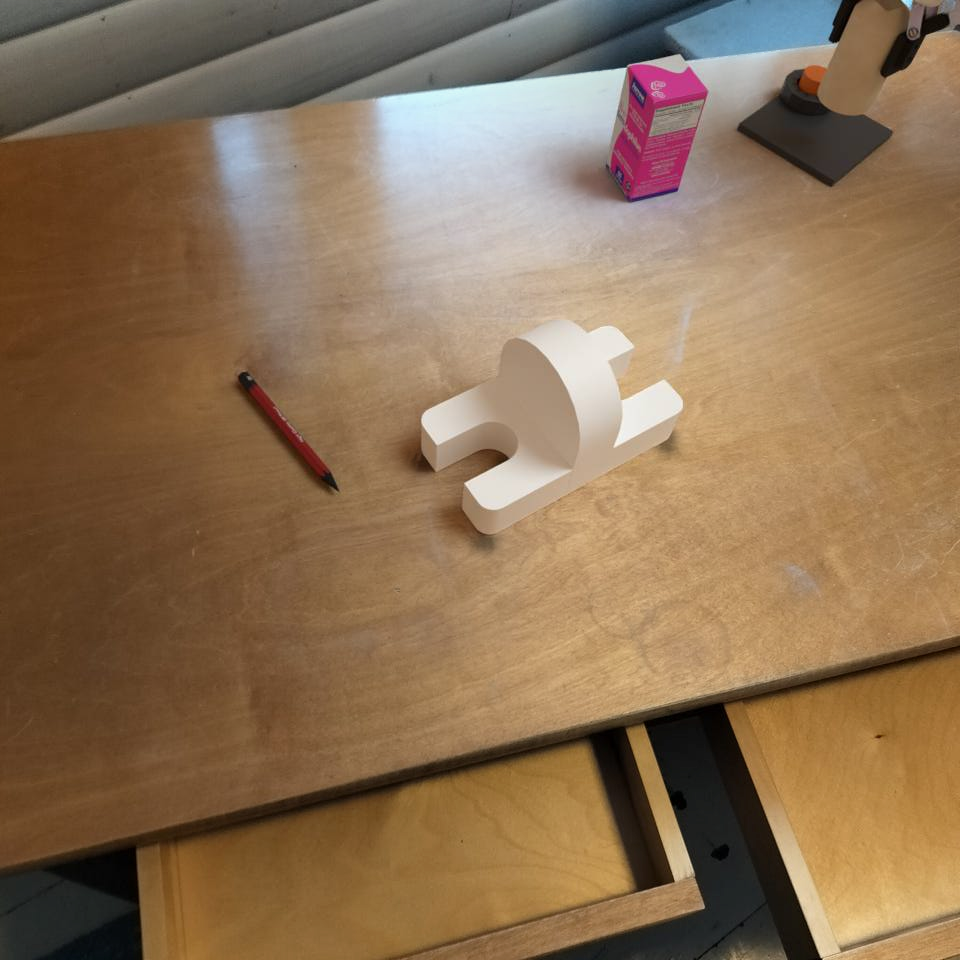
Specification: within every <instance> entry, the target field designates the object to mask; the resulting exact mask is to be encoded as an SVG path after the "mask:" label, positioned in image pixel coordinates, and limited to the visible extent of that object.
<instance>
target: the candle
mask: <svg viewBox="0 0 960 960" xmlns="http://www.w3.org/2000/svg"><path fill="white" fill-rule="evenodd" d="M910 12H911V8H910V7H908V5H907V4H906V3H905V2H904V0H861V1H860V2H858V3H857V4H856V5H855V7H854V9H853V12H852V14H851V16H850V18H849V20H848V23H847V25H846V27H845V29H844V32H843V34H842V36H841V38H840V41H839V42H837V45H836V48H835V50H834V51H833V54H832V57H831V59H830V61H829V63H828V65H827V66H826V67H827V68H826V69H827V70H826V72H825V74H824V76H823V79H822V81H821V83H820V86H819V88H818V98H819V100H820V101H821V103H822V104H823V105H824V106H826V107H827V108H828V109H830V110H832V111H834V112H836V113H839V114H843V115H850V116H855V115H861V114H864V115H865V114H866V113H867V112H869V111H870V109H871V108H872V107H873V105H874V103H875V101H876V100H877V97H878V96H879V93H880V92H881V90H882V88H883V86H884V84H885V82H886V80H887V78H884V77H883V76H881V75H880V74H881V73H880V70H881V68H882V66H883V64H884V62H885V60H886V58H887V56H888V54H889V52H890V50H891V48H892V46H893V44H894V42H895V40H896V39H897V37H898V36H899V35H900V34H901V33H903V32H905V31H906V30H907V28H908V22H909V17H910Z"/></svg>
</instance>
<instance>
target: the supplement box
mask: <svg viewBox="0 0 960 960" xmlns="http://www.w3.org/2000/svg"><path fill="white" fill-rule="evenodd" d="M620 92H621V93H620V97H619V102H618V106H617V111H616V115H615V121H614V123H613V128H612V129H613V130H612V134H611V139H610V143H609V146H608V147H609V148H608V152H607V158H606V163H605V167H606V169H607V170H608V171H609V173H610V174H611V175H612V177H613V179H614V180H615V182H616V183H617V184H618V186H619V187H620V190H622V191H621V192H623V195H624V196H625V198H626V199H627V201H628V202H630V203H631V202H635V201H640V200H644V199H649V198H654V197H658V196H662V195H666V194H672V193H677V192H678V191H679V189H680V185H681V183H682V179H683V177H684V176H683V175H684V172H685V169H686V165H687V162H688V158H689V156H690V153H691V150H692V146H693V144H694V139H695V136H696V134H697V130H698V126H699V124H700V119H701V118H702V114H703V110H704V108H705V104H706V100H707V99H708V94H709V89H708V88H707V86H705V84H704V83H703V82H702V81H701V79H700V78H699V76H698V75H697V74H696V73H695V71H694V70H693V69H692V67H691V66H690V65H689V64H688V62H687V61H686V60H685V59H684V57H683V56H682V55H681V54H680V53H678V54H673V55H670V56H669V55H668V56H665V57H661V58H655V59H652V60H651V59H650V60H646V61H640V62H635V63H629V64H628V65H626V69H625V74H624V79H623V83H622V88H621V91H620Z"/></svg>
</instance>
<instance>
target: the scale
mask: <svg viewBox="0 0 960 960" xmlns="http://www.w3.org/2000/svg"><path fill="white" fill-rule="evenodd" d="M804 70H805V68H800V69H799V68H798V69H794V70H793V71H791V72H789V74H787V75H786V76H785V79H784V82H783V84H782V86H781V89H780V90H781V91H780V94H778V95H777V96H775V97H774V98H773V99H771V100H769V102H767V103H766V104H764V105H762V106H761V107H760V108H759V109H757V110H756V111H755V112H753V113H751V115H749V116H747V117H746V118H744V119H742V121H741V122H739V123H738V126H737V129H736V131H738V132H740V133H741V134H743V136H746V137H748V138H749V139H751V140H752V141H754V142H756V143H758V144H759V145H761V146H762V147H764V148H766V149H768V150H769V151H771V152H772V153H774V154H775V155H777V156H779V157H781V158H782V159H783V160H786V161H787V162H789V163H791V164H792V165H794V166H796V167H797V168H799V169H800V170H801V171H804V172H805V173H807V174H808V175H810V176H812V177H813V178H815V179H817V180H819V181H820V182H822V183H824V184H825V185H826V186H828V187H830V188H832V187H834V186H835V185H836V184H837V183H838V182H839V181H840V180H842V179H843V178H844V177H845V176H847V175H848V174H849V173H850V172H852V170H854V169H855V168H856V167H858V166H859V165H860V164H861V163H862V162H863V161H864V160H866V159H867V158H868V157H870V155H872V154H873V153H874V152H876V151H877V150H878V149H879V148H880V147H882V146H883V145H884V144H885V143H886V142H887V141H889V140H890V139H891V137H892V136H893V133H894V130H892V129H890V128H889V127H886V126H885V125H883V124H882V123H879V122H878V121H876V120H874V119H873V118H871V117H869V116H868V115H866V114H865V113H864V114H861V115H855V116H850V115H843V114H839V113H836V112H834V111H832V110H830V109H828V108H827V107H826V106H824V105H823V104H822V103H821V101H820V100H819V98H818V96H815V95H810V94H807V93H805V92H804V91H802V90H800V88H799V82H800V79H801V77H802V75H803V72H804Z"/></svg>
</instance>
